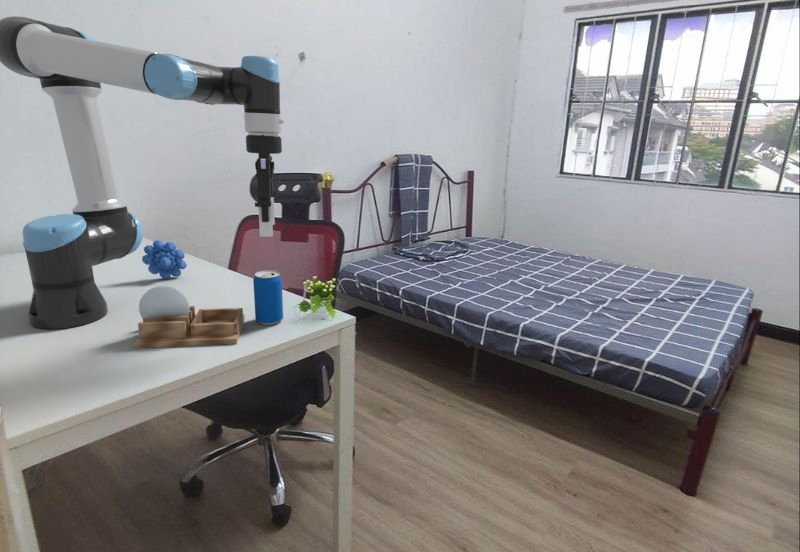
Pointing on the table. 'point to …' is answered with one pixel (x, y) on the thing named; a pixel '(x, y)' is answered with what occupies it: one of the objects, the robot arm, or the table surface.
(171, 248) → the blue bumpy lump
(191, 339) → the wooden holder tray
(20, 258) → the table surface
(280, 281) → the beverage can
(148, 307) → the pale blue plate
